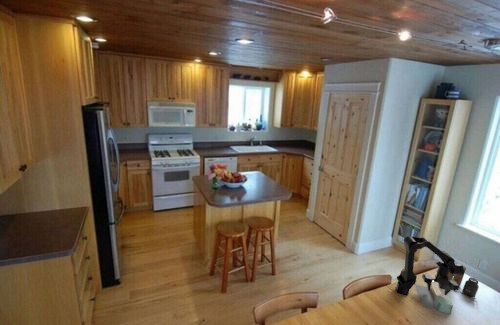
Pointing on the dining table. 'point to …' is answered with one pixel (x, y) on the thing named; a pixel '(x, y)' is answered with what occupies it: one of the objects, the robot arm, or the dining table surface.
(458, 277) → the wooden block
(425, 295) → the mat
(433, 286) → the slat
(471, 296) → the supplement bottle
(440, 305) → the end cap
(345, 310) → the dining table surface
